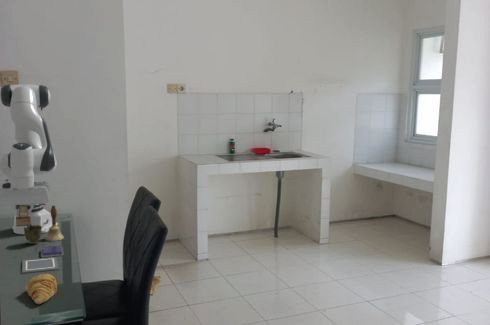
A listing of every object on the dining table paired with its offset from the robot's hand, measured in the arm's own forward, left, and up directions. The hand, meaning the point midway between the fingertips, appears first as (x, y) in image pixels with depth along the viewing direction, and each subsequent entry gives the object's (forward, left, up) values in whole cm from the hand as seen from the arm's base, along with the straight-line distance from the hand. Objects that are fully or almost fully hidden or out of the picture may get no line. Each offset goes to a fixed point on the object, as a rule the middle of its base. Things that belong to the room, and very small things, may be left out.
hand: (23, 214), depth 196 cm
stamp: (0, 0, -4) cm, 4 cm away
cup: (-13, -5, -18) cm, 23 cm away
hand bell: (-23, -1, -18) cm, 29 cm away
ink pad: (-6, +10, -18) cm, 21 cm away
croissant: (+30, +30, -18) cm, 46 cm away
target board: (+9, +14, -18) cm, 24 cm away
